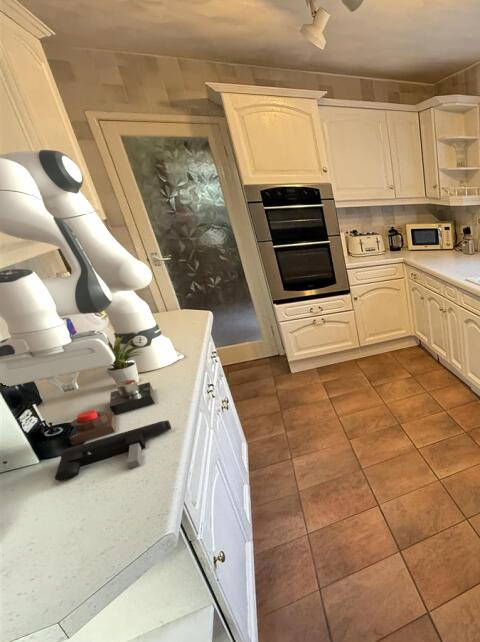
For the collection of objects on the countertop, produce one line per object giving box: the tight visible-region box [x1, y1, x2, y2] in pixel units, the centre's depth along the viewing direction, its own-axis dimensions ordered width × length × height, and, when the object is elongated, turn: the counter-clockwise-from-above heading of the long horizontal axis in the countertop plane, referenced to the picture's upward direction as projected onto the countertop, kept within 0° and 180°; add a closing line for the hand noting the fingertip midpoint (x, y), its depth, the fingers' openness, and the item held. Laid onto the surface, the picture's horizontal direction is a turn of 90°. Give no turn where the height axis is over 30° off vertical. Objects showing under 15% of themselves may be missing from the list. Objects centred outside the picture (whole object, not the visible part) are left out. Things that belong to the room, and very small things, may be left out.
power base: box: [70, 410, 117, 446], centre depth 104 cm, size 10×8×4 cm
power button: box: [76, 409, 99, 423], centre depth 103 cm, size 4×4×2 cm
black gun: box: [54, 419, 172, 482], centre depth 93 cm, size 3×20×16 cm
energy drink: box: [60, 316, 78, 334], centre depth 163 cm, size 5×5×12 cm
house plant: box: [106, 336, 145, 385], centre depth 126 cm, size 14×14×16 cm
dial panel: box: [109, 381, 156, 416], centre depth 118 cm, size 12×9×3 cm
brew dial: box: [115, 380, 140, 397], centre depth 116 cm, size 4×4×4 cm
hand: (70, 390), depth 99 cm, fingers closed
